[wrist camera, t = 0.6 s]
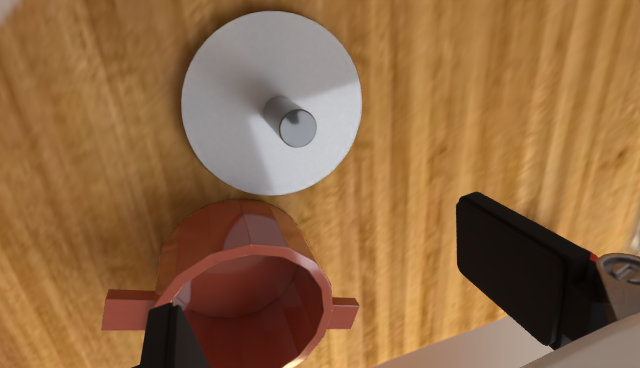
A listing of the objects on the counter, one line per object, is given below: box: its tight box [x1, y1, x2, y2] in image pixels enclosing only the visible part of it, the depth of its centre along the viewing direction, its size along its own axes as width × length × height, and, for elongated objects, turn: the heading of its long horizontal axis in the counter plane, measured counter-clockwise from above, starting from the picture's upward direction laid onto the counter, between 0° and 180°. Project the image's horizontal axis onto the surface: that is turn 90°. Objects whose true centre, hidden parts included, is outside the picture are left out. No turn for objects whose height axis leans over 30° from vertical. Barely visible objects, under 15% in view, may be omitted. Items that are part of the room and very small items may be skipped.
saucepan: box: [101, 199, 359, 368], centre depth 28 cm, size 13×18×7 cm
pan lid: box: [181, 11, 362, 196], centre depth 24 cm, size 14×14×7 cm
